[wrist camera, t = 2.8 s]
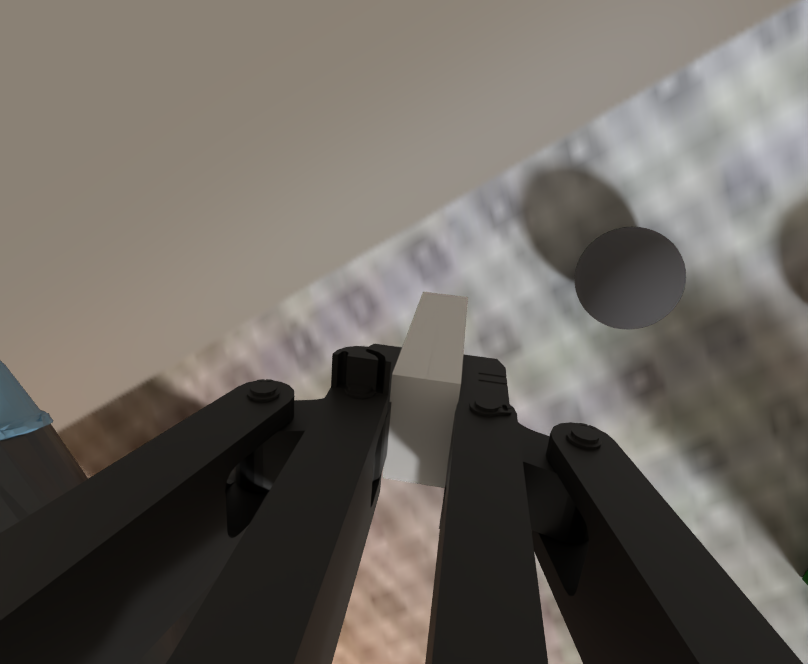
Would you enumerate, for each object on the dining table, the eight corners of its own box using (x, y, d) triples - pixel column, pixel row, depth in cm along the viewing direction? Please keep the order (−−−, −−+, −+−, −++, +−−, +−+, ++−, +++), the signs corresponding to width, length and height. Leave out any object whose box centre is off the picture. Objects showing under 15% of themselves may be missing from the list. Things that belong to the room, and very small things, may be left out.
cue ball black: (559, 305, 32) (574, 337, 27) (577, 214, 30) (598, 230, 25) (651, 316, 31) (685, 351, 26) (676, 225, 29) (718, 243, 24)
